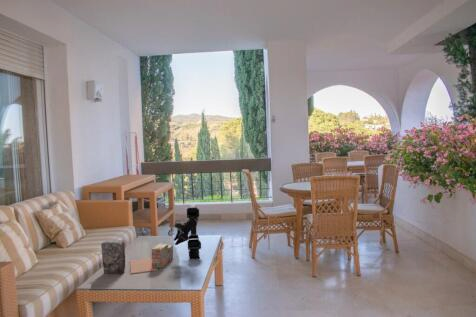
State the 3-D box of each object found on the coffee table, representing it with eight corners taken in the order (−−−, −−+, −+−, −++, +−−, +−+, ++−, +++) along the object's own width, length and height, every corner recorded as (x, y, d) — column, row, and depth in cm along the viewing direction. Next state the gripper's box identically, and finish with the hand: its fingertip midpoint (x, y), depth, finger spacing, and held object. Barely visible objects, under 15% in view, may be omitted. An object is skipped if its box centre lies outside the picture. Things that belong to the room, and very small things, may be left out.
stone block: (102, 274, 231) (100, 242, 230) (106, 270, 238) (104, 239, 237) (123, 274, 231) (121, 242, 230) (127, 270, 238) (125, 239, 237)
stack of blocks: (164, 257, 260) (164, 240, 259) (173, 258, 259) (173, 240, 258) (151, 267, 239) (151, 248, 238) (160, 268, 238) (160, 249, 237)
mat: (154, 258, 260) (154, 257, 260) (157, 270, 235) (157, 269, 235) (130, 261, 255) (130, 260, 255) (130, 274, 231) (130, 273, 230)
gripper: (179, 213, 259) (164, 231, 258) (182, 221, 241) (166, 239, 240) (191, 223, 262) (177, 240, 261) (195, 231, 244) (179, 250, 243)
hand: (174, 242), depth 251 cm, fingers open, 9 cm apart
